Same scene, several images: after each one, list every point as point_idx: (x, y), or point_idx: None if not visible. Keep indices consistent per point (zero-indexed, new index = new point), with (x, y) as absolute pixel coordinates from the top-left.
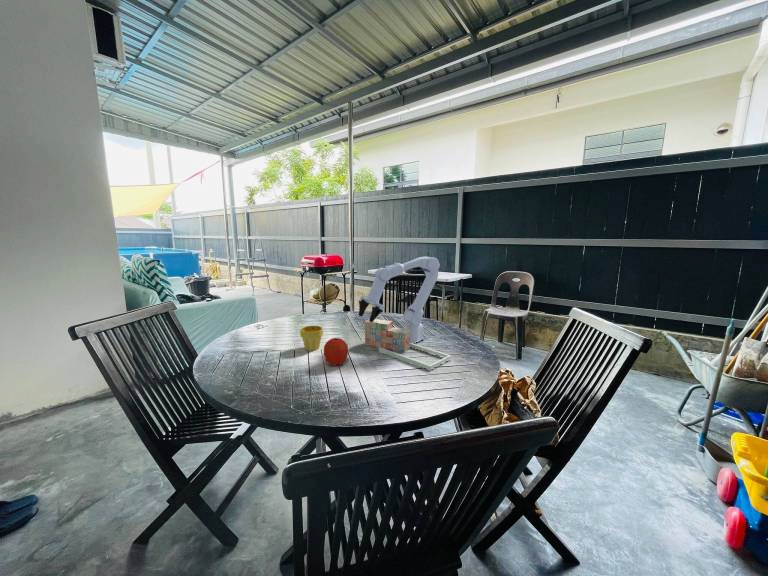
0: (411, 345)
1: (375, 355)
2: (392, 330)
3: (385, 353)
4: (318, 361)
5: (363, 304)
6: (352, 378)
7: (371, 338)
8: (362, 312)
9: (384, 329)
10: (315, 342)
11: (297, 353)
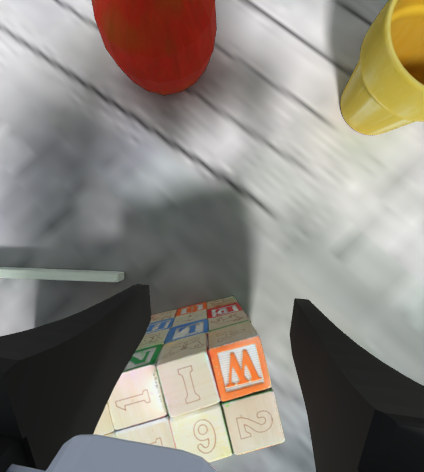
0: None
1: (108, 231)
2: None
3: (82, 270)
4: (235, 36)
5: (344, 430)
6: (28, 21)
7: (198, 312)
8: (300, 351)
9: None
10: (355, 71)
11: (362, 31)
